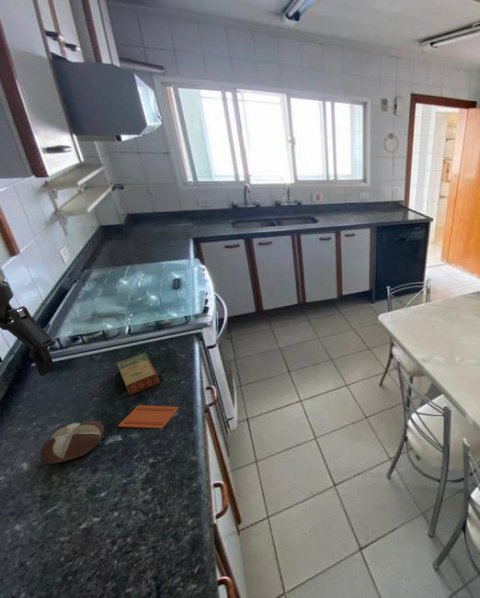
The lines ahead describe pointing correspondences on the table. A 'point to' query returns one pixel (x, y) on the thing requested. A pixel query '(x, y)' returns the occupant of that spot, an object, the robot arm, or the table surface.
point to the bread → (72, 441)
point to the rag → (149, 417)
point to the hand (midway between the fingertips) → (21, 368)
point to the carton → (138, 373)
